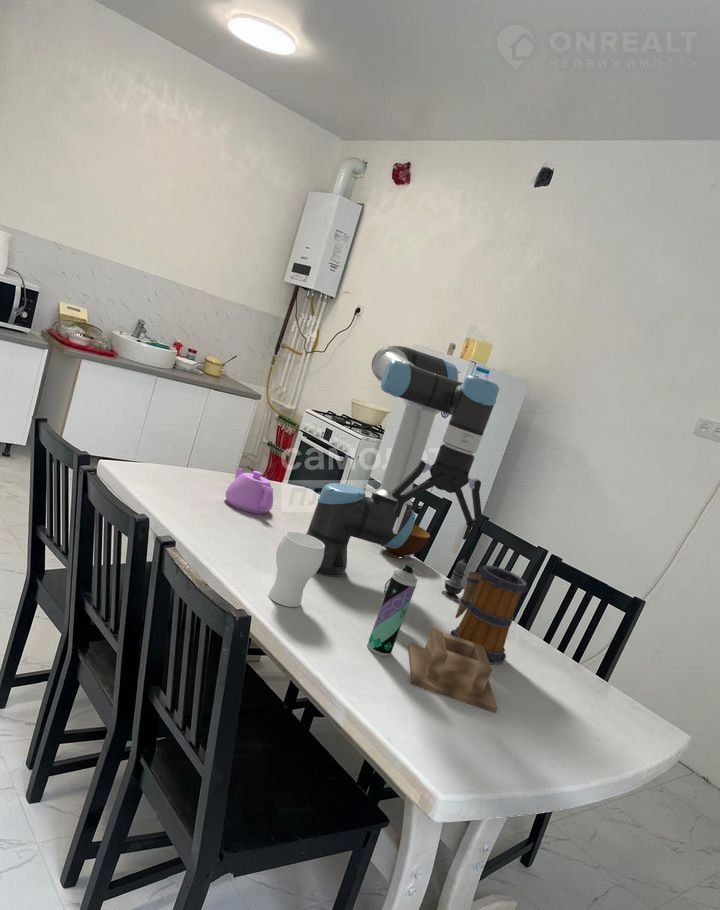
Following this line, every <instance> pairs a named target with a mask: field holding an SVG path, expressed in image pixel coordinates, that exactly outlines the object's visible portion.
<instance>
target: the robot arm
mask: <svg viewBox="0 0 720 910" xmlns="http://www.w3.org/2000/svg"><path fill="white" fill-rule="evenodd" d="M371 370H372V373H373V375H374V376H375V378H376V379H377V380H378V381H380V389H381V391H382V392H384V393H386V394H389V395H391V396H393V397H395V398H400V399H402V400H403V402H404V403H405V409H404V411H403V415H402V417H401V420H400V424H399V427H398V431H397V434H396V436H395V440H394V443H393V445H392V449H391V452H390V455H389V459H388V461H387V464H386V468H385V470H384V474H383V477H382V481H381V483H380V486H379V488H377V489H375V490H373V491H372V493H371V496H370V497H369V496H366V491H365V490H364V489H362V488H360V487H356V486H354V485H351V484H346V483H340V482H339V483H338V482H335V483H328V484H325V485H324V486H323V488H322V490H321V491H320V492H321V493H320V495H319V497H318V498H317V503H316V506H315V509H314V511H313V515H312V517H311V520H310V523H309V527H308V530H307V532H306V533H305V534H307V535H310V536H312V537H315V538H316V539H318V540H320V541H321V542H322V543H323V544H324V545H325V548H324V557H323V560H322V563H321V566H320V567H319V569H318V570H317V572H316V573H317V574H321V575H324V576H331V577H338V576H339V577H340V576H343V575H345V573H346V570H347V566H348V545H349V542H350V539H351V537H353V538H356V539H360V540H363V541H367V542H368V543H373V544H376V545H379V546H381V547H384V546H386V547H390V548H399V547H400V546H402V545H403V543H404V542H405V541H406V540H407V538H408V536H409V535H410V533H411V530H412V528H413V525H415V520H416V512H415V511H414V510H413V509H412V507H413V505H414V504H413V502H412V501H411V500H412V499H413V498H415V497H416V496H419V494H421V493H423V492H425V491H427V490H428V489H432V488H433V487H435V488H436V489H437V490H440V491H445V492H447V493H449V494H452V493H454V494H455V495H456V497H457V501H458V503H459V506H460V509H461V511H462V515H463V517H464V520H465V522H464V521H462V522H461V523H460V526H459V529H458V533H457V534H456V537H455V540H454V543H453V546H452V548H451V551H452V553H453V554H455V555H457V554H458V552H459V550H460V547H461V544H462V542H463V540H464V541H466V540H468V538H469V536H470V535H471V534H470V533H471V530H472V529H473V527H475V526H476V527H482V526H483V524H484V523H483V521H484V520H483V514H482V512H483V511H482V505H481V504H482V503H481V495H480V489H481V485H482V481H480V479H478V478H470V477H469V473H470V471H471V468H472V465H473V463H474V461H475V455H474V454H476V453H477V452H478V449H479V446H480V444H481V442H482V441H481V440H482V438H483V436H484V433H485V430H486V428H487V425H488V422H489V419H490V417H491V414H492V411H493V409H494V406H495V405H496V403H497V398H498V394H499V391H500V387H499V385H498V384H497V383H495V382H493V381H489V380H487V379H484V378H481V377H479V376H476V375H475V376H474V375H472V374H469V375H467V376H466V377H465V379H464V380H463V382H461V381H459V373H458V369H457V367H456V365H455V364H453V363H451V362H449V361H446V360H445V359H444V358H439V357H437V356H433V355H431V354H427V353H425V352H422V351H418V350H416V349H413V348H411V347H407V346H402V345H389V346H384V347H382V348H381V349H379V350H378V351H377V352H376V353H375V354H374V356H373V358H372V361H371ZM441 412H442V413H444V414H447V415H450V416H451V417H450V418H449V419H450V420H449V422H448V425H447V426H446V427H447V428H446V431H445V432H444V435H443V438H442V442H443V444H441V445H440V446H439V450H438V452H437V455H436V458H435V460H434V462H433V464H432V465H431V464H429V463H427V462H425V461H424V460H422V459H423V455H424V452H425V449H426V446H427V443H428V439H429V437H430V433H431V431H432V428H433V424H434V421H435V417H436V415H437V414H439V413H441ZM428 471H429V472H430V476H431V477H429V478H427V479H425V480H424V481H423V482H422V483H419V484H418V485H416V486H414V483H415V481H416V480H417V479H418V478H419V477H420V476H421V475H422V473H426V472H428ZM467 484H468V486H469V488H470V489H471V497H472V505H473V506H472V508H473V516H474V518H473V517H472V514H471V512H470V509H469V507H468V504H467V501H466V499H465V496H464V493H463V490H462V488H463V487H465V486H467ZM413 486H414V487H413ZM384 548H385V547H384Z"/></svg>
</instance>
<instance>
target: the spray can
mask: <svg viewBox="0 0 720 910" xmlns="http://www.w3.org/2000/svg"><path fill="white" fill-rule="evenodd" d="M390 578H391V580H390V583H389V586H388V588H387V591H386V594H384V597H383V600H382V603H381V606H380V607H379V610H378V613H377V617H376V619H375V621H374V624H373V627H372V630H371V633H370V636H369V638H368V641H367V645H366V647H367V650H369V651H370V652H371V653H373V654H375V655H377V656H381V657H390V656H391V654H392V652H393V649H394V646H395V643H396V641H397V638H398V635H399V633H400V630H401V627H402V625H403V623H404V619H405V617H406V613H407V611H408V608H409V607H410V603H411V601H412V597H413V595H414V592H415V589H416V587H417V584H418V578H417V577H416V575H415V572H414V566H413V564H412V565H411V564H410V563H406V564H405V565H404V566H403V567H402V568H400V569H396V570H394V571H393V573H392V574H391V577H390Z"/></svg>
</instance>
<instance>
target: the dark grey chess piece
mask: <svg viewBox="0 0 720 910" xmlns="http://www.w3.org/2000/svg"><path fill="white" fill-rule="evenodd" d="M465 561H466V560H465V558H463V559H462V560H458V561H457V563H456V566H455V567H454V569H453V570H452V575H451V578H450V579H446V580H445V581H444V588H445V590H442V591H441V594H442V596H445V597H447V598H449V599H452V600H454V601H455V600H460V598H459V596H458V595H459V594H460V593H461V592H462V591H464V589H465V587H464V586H463V585H462V580H463V578H464V576H465V571H466V569H467V567H468V566H467V562H465Z"/></svg>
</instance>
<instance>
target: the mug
mask: <svg viewBox="0 0 720 910" xmlns="http://www.w3.org/2000/svg"><path fill="white" fill-rule="evenodd" d="M527 585H528V583H527V582H526V580H524V578H522V577H521V576H519V575H517V574H515V573H514V572H511V571H509V570H506V569H505V568H501V567H498V566H493V565H489V564H488V565H487V564H485V565H483V566H482V567H480V568H479V570H478V572H476V571H470V572H469V571H468V573H467V577H466V582H465V587H464V589H463V593H462V596H461V597H460V598H459V605H458V608H457V611H456V614H455V618H456V619H458V618H460V616H462V615H463V616H462V618H461V621H460V623H459V625H458V626H456V628H455V629H452V630H451V631H450V635H453V636H456V637H458V638H461V639H464V640H467V641H470V642H473V643H476V644H479V645H482V646H484V649H485V652H486V655H487V658H488V660H489V663H490V666H500V665H501V666H502V665H503V663H504V661H505V660H506V657H507V655H506V653H505V652H506V649H505V644H506V640H507V638H508V633H509V629H510V627H511V625H512V624H513V620H514V613H515V610H516V608H517V605H518V603H519V600H520V598H521V596H522V594H523V593H527V591H528V589H529V588H528V586H527ZM464 612H465V613H464Z"/></svg>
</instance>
